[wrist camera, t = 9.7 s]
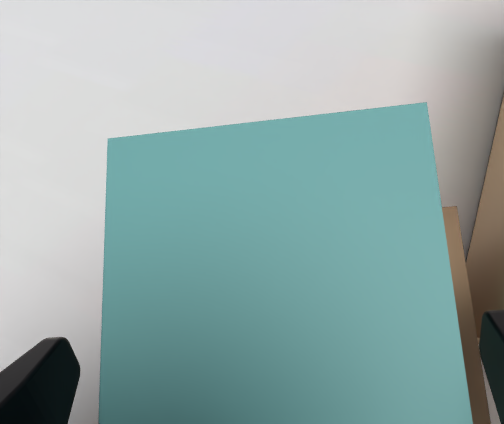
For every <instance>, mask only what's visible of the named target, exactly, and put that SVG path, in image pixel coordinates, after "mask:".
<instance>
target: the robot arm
mask: <svg viewBox="0 0 504 424" xmlns="http://www.w3.org/2000/svg"><path fill="white" fill-rule="evenodd" d="M479 349H480V355H481V359H482V362H483V365H484V369H485V372H486V375H487V378H488V382H489V385H490V388H491V392H492V395H493V398H494V402H495V405H496V408H497V411H498V415H499V418H500V421H501V424H504V310H488V311H485V312H484V313H483V315H482V320H481V330H480V341H479ZM79 377H80V365H79V362H78V360H77V358H76V356H75V354H74V352H73V349H72V347H71V345H70V343H69V341H68V340H67V339H66V338H64V337H53V338H46V339H44V340H42V341H41V342H40V343H38V344H37V345H36V346H34V347H33V348H32V349H30V350H29V351H28V352H26V353H25V354H24V355H22V356H21V357H20V358H19V359H17V360H16V361H15V362H13V363H12V364H11V365H9V366H8V367H7V368H5V369H4V370H3V371H1V372H0V424H67V423H68V419H69V416H70V412H71V408H72V404H73V400H74V397H75V393H76V389H77V385H78V381H79Z"/></svg>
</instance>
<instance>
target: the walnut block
mask: <svg viewBox="0 0 504 424" xmlns="http://www.w3.org/2000/svg"><path fill="white" fill-rule="evenodd" d="M442 212H443V219H444V226H445V233H446V240H447V247H448V254H449V261H450V268H451V275H452V282H453V289H454V296H455V303H456V310H457V317H458V324H459V331H460V338H461V345H462V352H463V359H464V366H465V372H466V379H467V386H468V393H469V400H470V407H471V414H472V421H473V424H491V422H490V416H489V410H488V403H487V397H486V390H485V384H484V378H483V371H482V365H481V358H480V352H479V346H478V339H477V333H476V326H475V320H474V314H473V307H472V301H471V294H470V288H469V282H468V275H467V269H466V262H465V256H464V250H463V243H462V237H461V230H460V224H459V218H458V211H457V206H453V207H442Z"/></svg>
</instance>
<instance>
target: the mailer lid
mask: <svg viewBox="0 0 504 424" xmlns="http://www.w3.org/2000/svg"><path fill="white" fill-rule="evenodd" d="M99 424H473V421H472V414H471V407H470V400H469V393H468V386H467V379H466V372H465V366H464V359H463V352H462V345H461V338H460V331H459V324H458V317H457V310H456V303H455V296H454V289H453V282H452V275H451V268H450V261H449V254H448V247H447V240H446V233H445V226H444V219H443V212H442V205H441V198H440V191H439V184H438V178H437V171H436V164H435V157H434V150H433V143H432V136H431V129H430V122H429V115H428V108H427V102H425V103H416V104H408V105H399V106H390V107H381V108H373V109H364V110H355V111H346V112H338V113H329V114H320V115H311V116H302V117H294V118H285V119H276V120H267V121H259V122H250V123H241V124H232V125H223V126H215V127H206V128H197V129H188V130H180V131H171V132H162V133H153V134H145V135H136V136H127V137H118V138H109V139H108V147H107V178H106V209H105V240H104V270H103V301H102V332H101V363H100V393H99Z"/></svg>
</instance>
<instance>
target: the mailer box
mask: <svg viewBox="0 0 504 424" xmlns="http://www.w3.org/2000/svg"><path fill="white" fill-rule="evenodd" d="M466 269H467V275H468V282H469V288H470V294H471V301H472V307H473V314H474V320H475V326H476V333H477V339H478V344H479V341H480V330H481V320H482V315H483V313H484V312H485V311H488V310H504V96H503V100H502V105H501V109H500V114H499V118H498V123H497V127H496V132H495V136H494V140H493V145H492V149H491V154H490V158H489V163H488V167H487V172H486V176H485V181H484V185H483V190H482V194H481V199H480V203H479V208H478V212H477V217H476V221H475V226H474V230H473V235H472V239H471V244H470V248H469V252H468V257H467V261H466Z"/></svg>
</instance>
